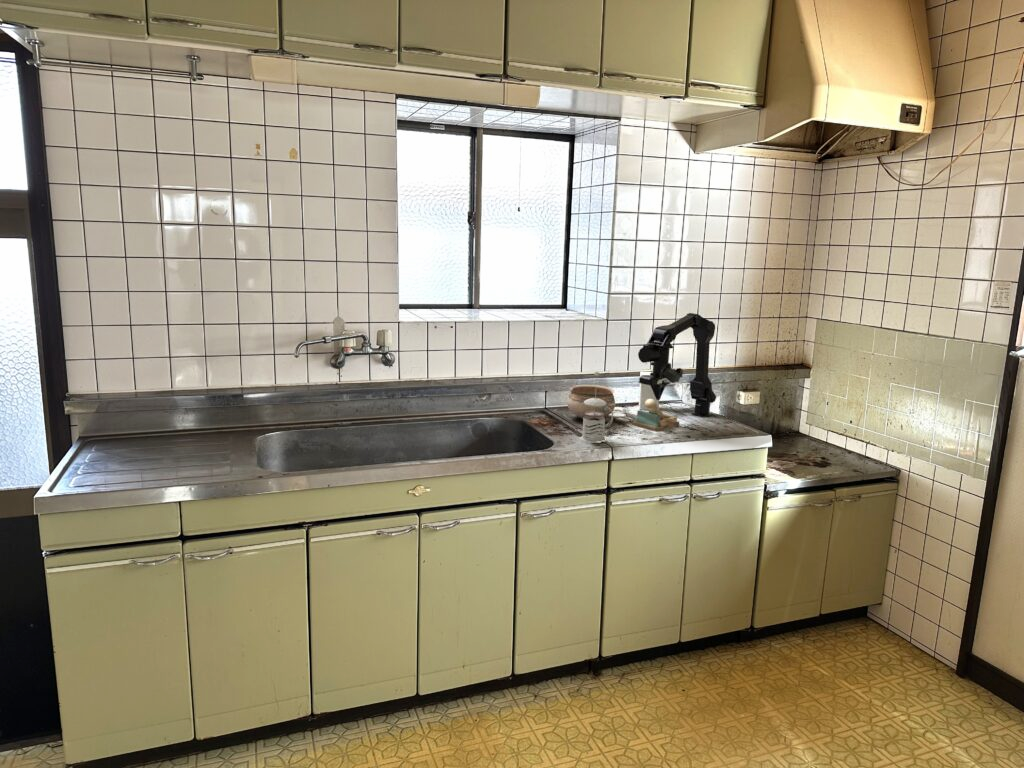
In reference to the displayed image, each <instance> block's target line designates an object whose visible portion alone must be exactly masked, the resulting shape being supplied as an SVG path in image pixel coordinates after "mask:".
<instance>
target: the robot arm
mask: <svg viewBox="0 0 1024 768" xmlns="http://www.w3.org/2000/svg"><path fill="white" fill-rule="evenodd" d="M690 328H691V329H692V334H693V337H694V339H695V341H696V358H695V359H696V360H695V376H694V377H693V379H692V380H690V381H689V391H690V392H689V393H690V397H691V400H695V403H694V411H693V412H691V415H694V416H698V417H703V418H705V417H709V416H713V413H712V412H710V411H711V409H710V408H711V404H712V403H714V402H716V400H717V396H716V394H715V392H714V390H713V386H712V385H713V384H712V381H711V379H710V377H709V366H710V362H709V361H710V346H711V345H710V344H711V343H710V342H711V341H712V339H713V338H714V336H715V331H716V325H715V323H714V322H713V321H712V320H709V319H707V318H705V317H703V316H702V315H700V314H699V313H693V312H689V313H687V314H686V315H685V316H683V317H681V318H679V319H677V320H675V321H674V322H672V323H669V324H667V325H660V326H657V327H655V328H654V329H653V331H652V333H651V334H650V337H649V338H648V340H647V342H646V343H644V344H642V347H641V348H640V349H639V351H638V355H637V357H638V359H639V361H640V362H641V363H643V364H645V363H650V366H652V371H651V372H652V373H650V375H651V376H649V375H644V376H641V377H640V376H639V378H638V383H639V384H640V383H641V384H646V385H650V386H651V388H652V390H653V393H654V395H655V398H656V400H659V401H660V400H661V398H662V395H663V393H664V390H665V388H666V387H667V386H668V385H670V384H671V383H672V384H674V383H679V381H680V379H681V378H683V374H684V370H683V368H681V367H679V368H676V369H675V368H673V367H672V363H671V362H669V361H670V360H669V359H670V350H671V349H674V346H673V345H672V344H671V343H672V342H674V340H676V338H677V335H679V334H681V333H683V332H684V331H686V330H688V329H690Z"/></svg>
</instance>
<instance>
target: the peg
mask: <svg viewBox="0 0 1024 768" xmlns="http://www.w3.org/2000/svg"><path fill="white" fill-rule="evenodd" d="M644 405H645V407H646V408H647V410H646V411H647V412H651V413H655V414H659V415H660V420H663V418H664V415H663V414H664V413H663V412H662V411H661V409H660V408H659V407H660V406H659V407H658V406H657V404H656V403H655V401H654V400H653V399H648V400H646V401H645V404H644Z"/></svg>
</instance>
